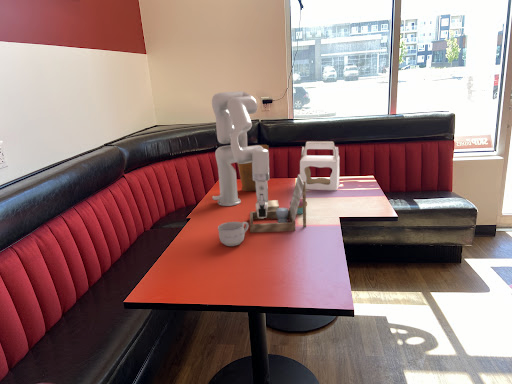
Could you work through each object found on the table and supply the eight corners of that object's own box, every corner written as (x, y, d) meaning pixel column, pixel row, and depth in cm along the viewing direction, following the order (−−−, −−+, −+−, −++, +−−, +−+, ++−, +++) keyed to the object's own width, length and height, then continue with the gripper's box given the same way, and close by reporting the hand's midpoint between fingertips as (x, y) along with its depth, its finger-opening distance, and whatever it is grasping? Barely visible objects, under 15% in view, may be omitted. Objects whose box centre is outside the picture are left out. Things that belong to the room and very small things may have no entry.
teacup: (225, 251, 153) (223, 232, 151) (215, 241, 162) (213, 224, 160) (256, 243, 159) (255, 224, 157) (244, 234, 168) (243, 217, 166)
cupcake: (306, 215, 188) (306, 191, 185) (289, 215, 190) (288, 191, 186) (307, 209, 196) (307, 186, 193) (291, 209, 198) (290, 186, 194)
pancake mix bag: (269, 191, 231) (267, 145, 223) (238, 192, 234) (235, 146, 226) (270, 188, 237) (269, 143, 229) (240, 189, 240) (237, 144, 232)
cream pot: (256, 219, 176) (255, 205, 174) (256, 214, 181) (255, 201, 179) (268, 218, 176) (268, 205, 174) (268, 214, 181) (267, 201, 179)
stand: (258, 216, 189) (258, 207, 188) (258, 210, 199) (258, 201, 197) (279, 215, 189) (278, 206, 188) (277, 209, 199) (277, 200, 197)
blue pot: (276, 225, 177) (276, 211, 175) (276, 221, 182) (275, 208, 180) (289, 224, 177) (288, 211, 175) (288, 220, 182) (287, 207, 180)
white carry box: (299, 189, 233) (299, 143, 226) (304, 183, 245) (303, 139, 238) (337, 190, 227) (337, 143, 219) (339, 184, 239) (340, 139, 231)
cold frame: (250, 232, 170) (247, 186, 164) (250, 218, 187) (248, 176, 182) (307, 229, 170) (306, 183, 164) (302, 216, 187) (301, 174, 181)
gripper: (270, 181, 164) (271, 220, 170) (268, 171, 181) (269, 207, 186) (252, 182, 164) (254, 221, 170) (252, 171, 181) (254, 208, 186)
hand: (262, 213), depth 178 cm, fingers closed on cream pot, 5 cm apart
